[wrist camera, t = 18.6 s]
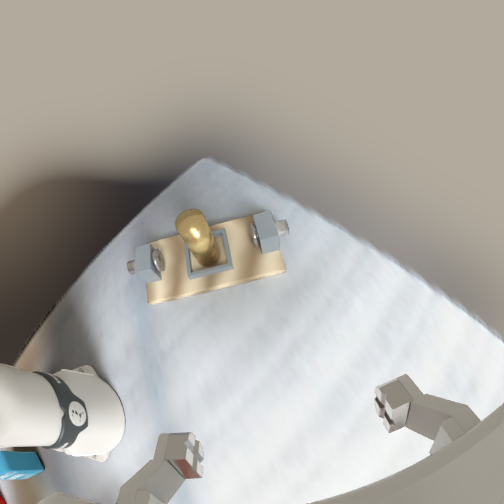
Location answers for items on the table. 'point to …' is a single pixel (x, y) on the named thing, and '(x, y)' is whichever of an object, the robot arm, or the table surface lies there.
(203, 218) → the cylinder
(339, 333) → the table surface
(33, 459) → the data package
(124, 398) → the table surface
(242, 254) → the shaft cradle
